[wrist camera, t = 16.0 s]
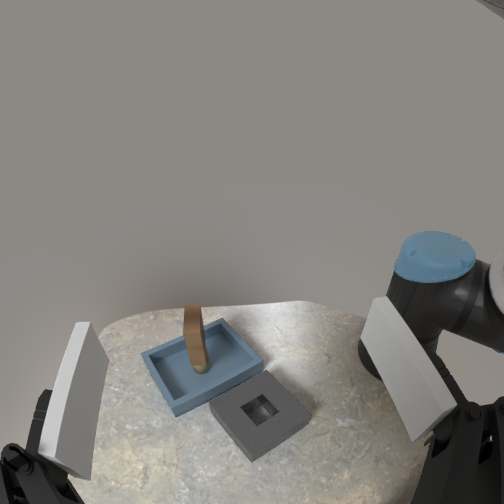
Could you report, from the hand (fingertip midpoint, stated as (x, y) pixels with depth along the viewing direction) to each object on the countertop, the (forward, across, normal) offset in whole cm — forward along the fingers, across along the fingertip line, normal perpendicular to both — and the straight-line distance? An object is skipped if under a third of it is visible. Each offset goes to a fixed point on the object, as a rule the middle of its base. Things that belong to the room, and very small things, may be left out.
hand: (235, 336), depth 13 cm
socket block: (+10, +3, -30) cm, 32 cm away
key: (+20, -4, -29) cm, 36 cm away
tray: (+20, -5, -30) cm, 37 cm away
